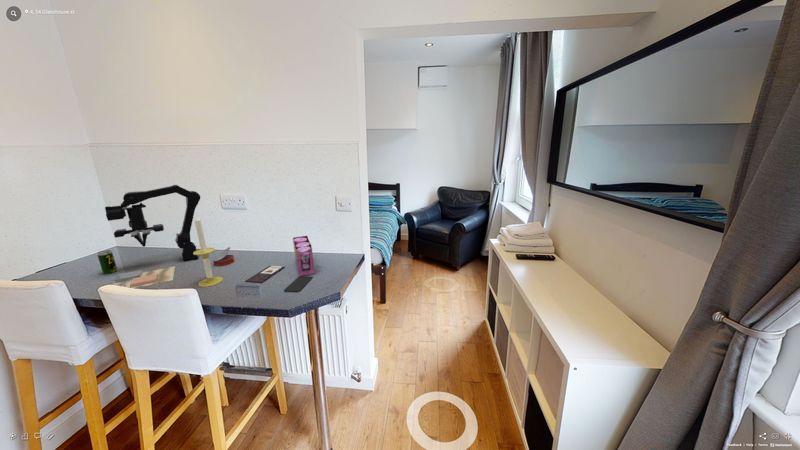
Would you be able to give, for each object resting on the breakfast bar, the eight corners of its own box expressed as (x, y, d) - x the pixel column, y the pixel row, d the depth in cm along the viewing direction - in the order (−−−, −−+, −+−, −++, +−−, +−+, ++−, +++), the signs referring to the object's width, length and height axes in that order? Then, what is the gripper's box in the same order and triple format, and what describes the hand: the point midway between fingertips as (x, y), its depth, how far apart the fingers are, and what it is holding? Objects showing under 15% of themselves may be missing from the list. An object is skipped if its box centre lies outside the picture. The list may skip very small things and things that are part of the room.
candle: (207, 277, 140) (193, 212, 131) (227, 277, 139) (214, 211, 131) (192, 287, 130) (176, 217, 121) (214, 286, 129) (199, 216, 121)
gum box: (315, 275, 139) (312, 248, 136) (298, 278, 136) (295, 251, 133) (310, 258, 161) (307, 235, 157) (295, 260, 158) (292, 237, 154)
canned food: (230, 272, 156) (224, 260, 149) (212, 271, 156) (205, 259, 149) (240, 256, 164) (234, 245, 157) (223, 255, 164) (216, 243, 158)
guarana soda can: (100, 276, 144) (93, 254, 141) (108, 272, 149) (101, 250, 146) (113, 275, 145) (106, 252, 142) (120, 270, 150) (114, 249, 147)
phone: (313, 276, 137) (299, 291, 122) (313, 278, 137) (299, 293, 122) (298, 276, 137) (282, 290, 123) (299, 277, 138) (283, 292, 123)
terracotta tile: (157, 273, 140) (133, 278, 135) (155, 279, 134) (129, 284, 129) (158, 276, 141) (134, 281, 136) (156, 282, 134) (131, 288, 129)
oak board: (175, 266, 154) (175, 266, 154) (172, 280, 137) (172, 280, 137) (117, 278, 141) (117, 277, 141) (106, 295, 124) (106, 294, 124)
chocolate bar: (244, 280, 133) (269, 265, 150) (245, 282, 134) (269, 267, 151) (262, 282, 132) (284, 266, 149) (262, 284, 132) (285, 268, 149)
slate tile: (142, 269, 145) (118, 274, 140) (139, 275, 139) (114, 280, 134) (143, 273, 146) (119, 277, 141) (140, 278, 139) (115, 283, 134)
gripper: (161, 211, 156) (168, 239, 160) (114, 217, 146) (123, 246, 150) (159, 215, 148) (166, 244, 152) (109, 221, 137) (118, 252, 141)
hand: (144, 246), depth 149 cm, fingers closed
